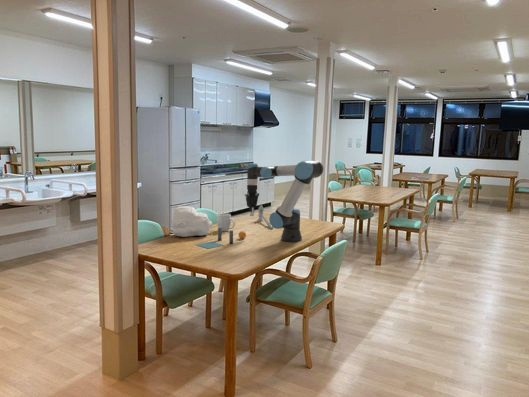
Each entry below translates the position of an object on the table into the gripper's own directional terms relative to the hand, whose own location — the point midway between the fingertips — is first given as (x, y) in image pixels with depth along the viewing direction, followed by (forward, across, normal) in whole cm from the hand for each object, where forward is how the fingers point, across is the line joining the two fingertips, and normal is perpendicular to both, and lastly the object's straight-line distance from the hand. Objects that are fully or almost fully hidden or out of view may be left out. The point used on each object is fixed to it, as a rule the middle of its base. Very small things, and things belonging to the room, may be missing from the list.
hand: (251, 216), depth 326 cm
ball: (+13, +10, 0) cm, 16 cm away
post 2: (+16, +26, +6) cm, 31 cm away
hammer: (+16, -41, -26) cm, 51 cm away
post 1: (+16, +26, -6) cm, 31 cm away
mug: (+16, +2, -29) cm, 33 cm away
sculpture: (+16, +30, -34) cm, 48 cm away
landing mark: (+16, +40, 0) cm, 43 cm away
